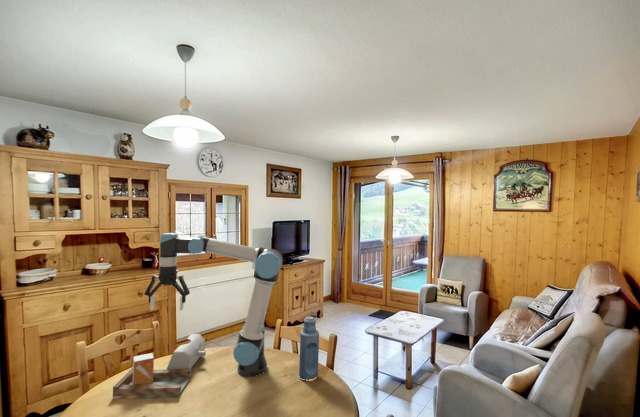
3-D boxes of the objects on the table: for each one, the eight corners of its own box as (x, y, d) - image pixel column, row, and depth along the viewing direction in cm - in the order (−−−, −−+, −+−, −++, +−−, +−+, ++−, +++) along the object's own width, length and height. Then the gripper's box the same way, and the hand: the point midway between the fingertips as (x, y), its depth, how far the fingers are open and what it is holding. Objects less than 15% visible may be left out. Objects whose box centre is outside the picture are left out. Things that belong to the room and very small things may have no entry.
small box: (133, 390, 144) (133, 361, 144) (132, 384, 149) (132, 356, 149) (153, 385, 148) (154, 357, 148) (151, 379, 154) (152, 352, 154)
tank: (195, 377, 159) (196, 352, 159) (163, 377, 159) (164, 351, 159) (211, 355, 184) (212, 333, 184) (183, 354, 184) (184, 332, 184)
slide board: (191, 377, 159) (191, 366, 159) (179, 397, 142) (179, 385, 142) (132, 378, 156) (132, 367, 157) (112, 398, 140) (113, 386, 140)
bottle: (314, 371, 168) (315, 313, 168) (320, 380, 158) (322, 319, 159) (296, 373, 165) (298, 315, 165) (301, 383, 155) (303, 321, 156)
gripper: (197, 264, 159) (196, 307, 159) (144, 263, 157) (143, 307, 157) (192, 266, 152) (191, 311, 152) (137, 266, 150) (136, 312, 149)
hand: (167, 309), depth 154 cm, fingers open, 13 cm apart
